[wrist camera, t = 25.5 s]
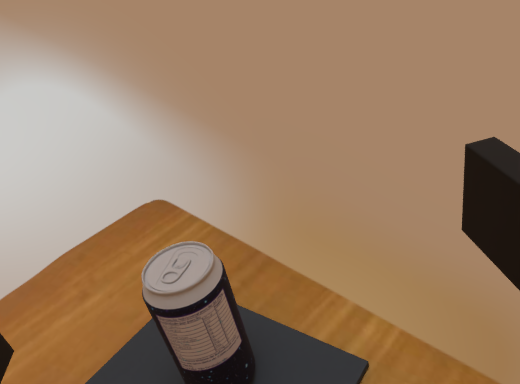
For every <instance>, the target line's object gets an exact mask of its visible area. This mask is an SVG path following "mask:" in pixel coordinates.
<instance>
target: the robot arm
mask: <svg viewBox="0 0 520 384" xmlns="http://www.w3.org/2000/svg"><path fill="white" fill-rule="evenodd" d="M462 230H463V232H464V233H465V234H466V235H467V236H468V237H469V238H470V239H471V240H472V241H473V242H474V243H475V244H476V245H477V246H478V247H479V248H480V249H481V250H482V251H483V253H484V254H486V256H487V257H488V258H489V259H490V260H491V261H492V262H493V263H494V264H495V265H496V266H497V267H498V268H499V269H500V270H501V271H502V273H503V274H504V275H505V276H506V277H507V278H508V279H509V280H510V281H511V282H512V283H513V284H514V285H515V286H516V287H517V288H518V289H519V290H520V153H519V152H517V151H516V150H514V149H513V148H511V147H510V146H508V145H506V144H505V143H503V142H502V141H500V140H498V139H497V138H495V137H492V138H488V139H484V140H481V141H477V142H473V143H470V144H466V145H465V167H464V190H463V214H462ZM13 352H14V350H13V349H12V347H11V346H10V345H9V344H8V342H7V341H6V340H5V339H4V337H3V336H2V335H1V334H0V383H1V381H2V379H3V376H4V374H5V371H6V369H7V367H8V364H9V362H10V359H11V357H12V355H13Z"/></svg>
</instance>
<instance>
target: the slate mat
mask: <svg viewBox="0 0 520 384" xmlns="http://www.w3.org/2000/svg"><path fill="white" fill-rule="evenodd" d="M237 307H238V310H239V313H240V316H241V319H242V321H243V324H244V327H245V330H246V333H247V336H248V339H249V342H250V345H251V348H252V351H253V354H254V357H255V371H254V374H253V377H252V379H251V381H250V382H249V384H359V383H360V381H361V380H362V378H363V376H364V374H365V372H366V370H367V368H368V367H369V364H368V361H366V360H364V359H361V358H359V357H357V356H355V355H352V354H350V353H348V352H345V351H343V350H341V349H338V348H336V347H334V346H331V345H329V344H327V343H324V342H322V341H320V340H317V339H315V338H313V337H311V336H308V335H306V334H304V333H301V332H299V331H297V330H294V329H292V328H290V327H287V326H285V325H283V324H280V323H278V322H276V321H273V320H271V319H269V318H267V317H264V316H262V315H260V314H257V313H255V312H253V311H250V310H248V309H246V308H243V307H241V306H239V305H237ZM85 384H185V382H184V380H183V378H182V376H181V374H180V372H179V370H178V368H177V366H176V364H175V362H174V360H173V358H172V356H171V354H170V352H169V350H168V348H167V346H166V344H165V342H164V340H163V338H162V336H161V334H160V332H159V330H158V328H157V326H156V324H155V322H154V320H153V318H152V319H151V320H150V321H149V322H148V323H147V324H146V325H145V326H144V327H143V328H142V329H141V330H140V331H139V332H138V333H137V334H136V335H135V336H134V337H133V338H132V339H130V340H129V341H128V342H127V343H126V344H125V345H124V346H123V347H122V348H121V349H120V350H119V351H118V352H117V353H116V354H115V355H114V356H113V357H112V358H111V359H110V360H109V361H108V362H107V363H106V364H105V365H104V366H103V367H102V368H101V369H100V370H99V371H98V372H97V373H96V374H94V375H93V376H92V377H91V378H90V379H89V380H88V381H87V382H86V383H85Z"/></svg>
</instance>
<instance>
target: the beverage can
mask: <svg viewBox="0 0 520 384" xmlns="http://www.w3.org/2000/svg"><path fill="white" fill-rule="evenodd" d="M142 283H143V290H142V295H143V299H144V302H145V304H146V306H147V308H148V310H149V312H150V314H151V316H152V318H153V320H154V322H155V324H156V326H157V328H158V330H159V332H160V334H161V336H162V338H163V340H164V342H165V344H166V346H167V348H168V350H169V352H170V354H171V356H172V358H173V360H174V362H175V364H176V366H177V368H178V370H179V372H180V374H181V376H182V378H183V380H184V382H185V384H249V382H250V381H251V379H252V377H253V374H254V371H255V357H254V354H253V351H252V348H251V345H250V342H249V339H248V336H247V333H246V330H245V327H244V324H243V321H242V319H241V316H240V313H239V310H238V307H237V304H236V301H235V298H234V295H233V292H232V289H231V286H230V283H229V280H228V277H227V274H226V271H225V268H224V265H223V263H222V261H221V260H220V259H219V258H218V257H217V256H216V255H214V254H213V252H212V250H211V249H210V248H209V247H208V246H207V245H205V244H203V243H200V242H194V241H188V242H181V243H177V244H174V245H171V246H169V247H167V248H165V249H163V250H161V251H160V252H158V253H157V254H155V255H154V256H153V257H152V258H151V259H150V260H149V261H148V262H147V264H146V265H145V267H144V269H143V271H142Z"/></svg>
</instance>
